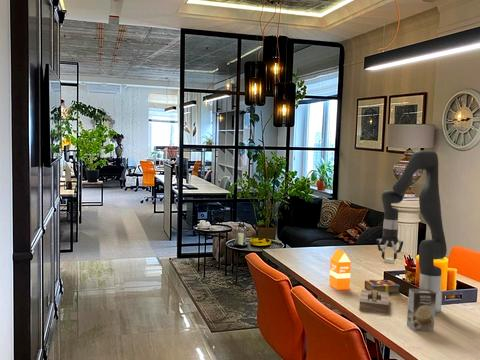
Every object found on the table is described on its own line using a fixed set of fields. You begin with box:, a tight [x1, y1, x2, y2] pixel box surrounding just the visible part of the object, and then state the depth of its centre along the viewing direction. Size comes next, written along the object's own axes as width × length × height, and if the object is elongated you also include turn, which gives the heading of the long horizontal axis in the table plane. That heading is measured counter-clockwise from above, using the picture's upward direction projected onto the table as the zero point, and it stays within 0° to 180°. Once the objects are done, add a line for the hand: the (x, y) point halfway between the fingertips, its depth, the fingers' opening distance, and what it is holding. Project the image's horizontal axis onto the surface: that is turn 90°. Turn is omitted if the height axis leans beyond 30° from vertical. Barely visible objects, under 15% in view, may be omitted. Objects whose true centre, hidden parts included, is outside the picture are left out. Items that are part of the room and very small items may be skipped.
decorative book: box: [364, 279, 401, 295], centre depth 250 cm, size 11×16×5 cm
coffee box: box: [406, 288, 436, 332], centre depth 198 cm, size 9×6×16 cm
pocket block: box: [358, 289, 390, 314], centre depth 227 cm, size 20×13×4 cm, turn 163°
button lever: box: [372, 290, 377, 302], centre depth 229 cm, size 10×2×4 cm, turn 163°
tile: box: [383, 257, 395, 265], centre depth 249 cm, size 10×5×2 cm, turn 163°
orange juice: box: [329, 248, 352, 291], centre depth 254 cm, size 8×9×20 cm
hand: (388, 259), depth 252 cm, fingers closed on tile, 5 cm apart
